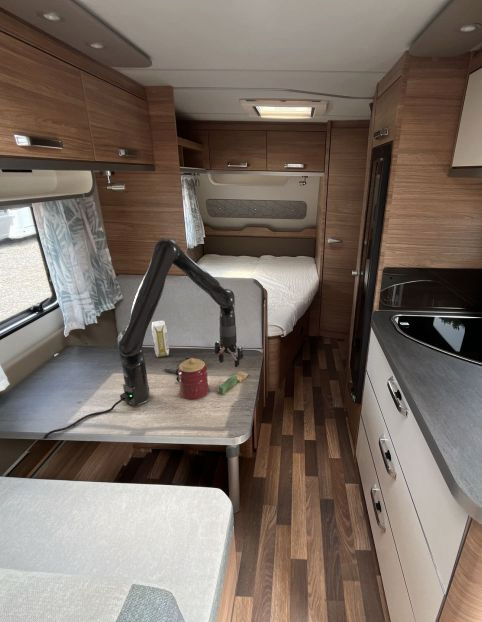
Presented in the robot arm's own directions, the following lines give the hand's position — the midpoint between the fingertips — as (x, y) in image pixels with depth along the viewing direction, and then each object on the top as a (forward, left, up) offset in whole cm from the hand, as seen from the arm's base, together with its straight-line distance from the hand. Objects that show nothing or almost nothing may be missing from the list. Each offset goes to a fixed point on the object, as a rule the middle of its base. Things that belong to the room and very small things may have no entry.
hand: (229, 364), depth 158 cm
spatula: (+2, 0, -12) cm, 12 cm away
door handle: (0, +30, -12) cm, 32 cm away
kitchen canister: (-12, +12, -12) cm, 21 cm away
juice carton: (+9, +53, -12) cm, 55 cm away
